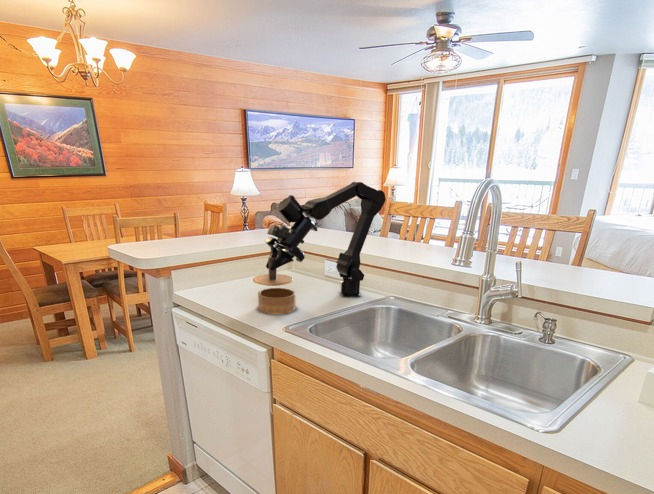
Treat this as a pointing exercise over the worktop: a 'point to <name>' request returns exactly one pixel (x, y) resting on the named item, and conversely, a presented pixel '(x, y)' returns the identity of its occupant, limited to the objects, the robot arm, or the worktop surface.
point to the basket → (276, 300)
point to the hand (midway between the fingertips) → (268, 268)
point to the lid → (272, 277)
